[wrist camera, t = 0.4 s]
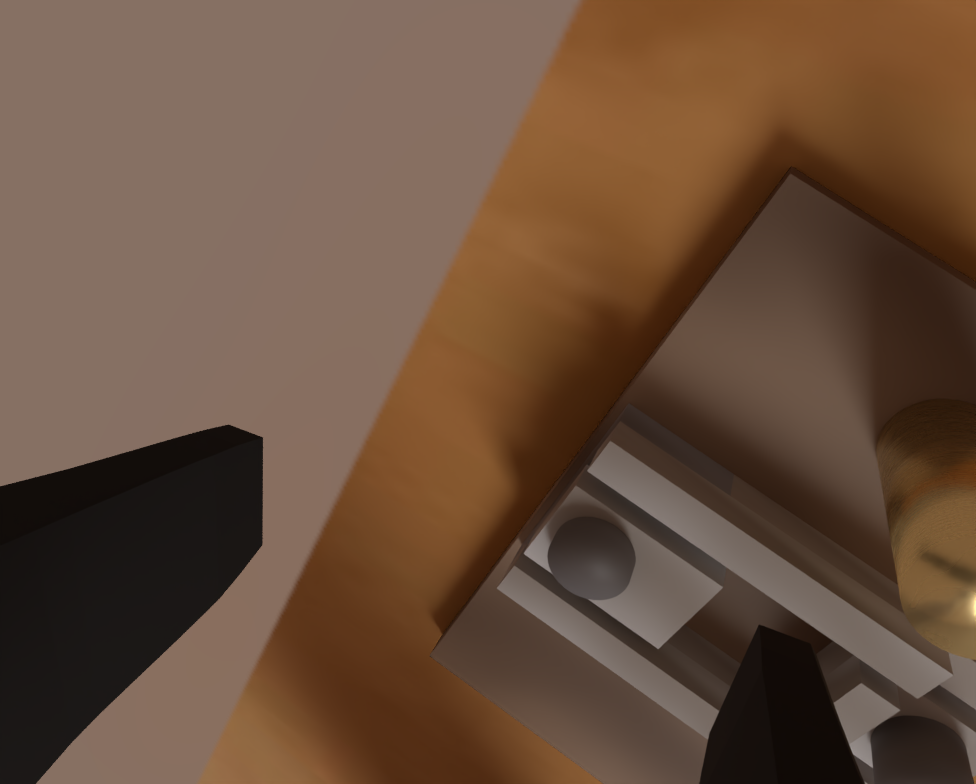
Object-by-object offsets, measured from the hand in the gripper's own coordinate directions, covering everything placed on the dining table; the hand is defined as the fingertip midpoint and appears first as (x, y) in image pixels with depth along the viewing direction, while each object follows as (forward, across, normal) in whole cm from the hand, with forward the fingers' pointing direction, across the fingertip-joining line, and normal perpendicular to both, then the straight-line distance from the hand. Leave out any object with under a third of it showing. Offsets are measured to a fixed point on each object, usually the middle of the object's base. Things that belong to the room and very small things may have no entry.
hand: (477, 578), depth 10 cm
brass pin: (+9, -7, 0) cm, 11 cm away
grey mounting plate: (+10, -5, +6) cm, 12 cm away
